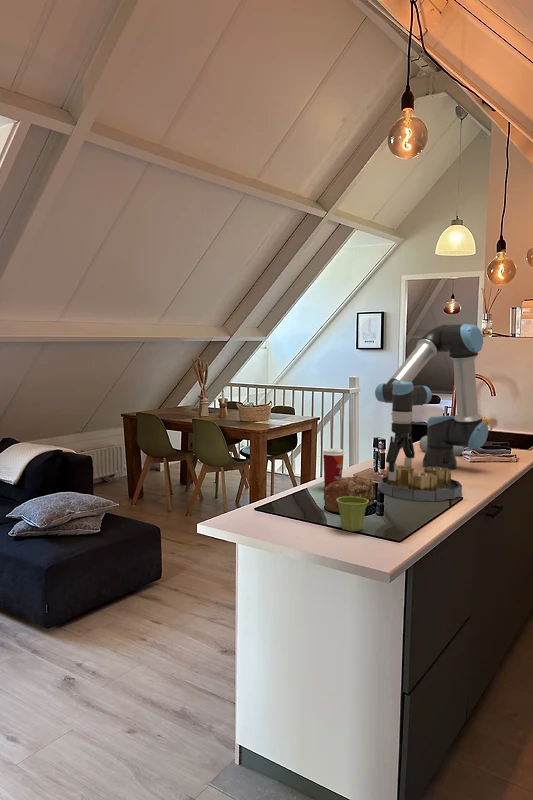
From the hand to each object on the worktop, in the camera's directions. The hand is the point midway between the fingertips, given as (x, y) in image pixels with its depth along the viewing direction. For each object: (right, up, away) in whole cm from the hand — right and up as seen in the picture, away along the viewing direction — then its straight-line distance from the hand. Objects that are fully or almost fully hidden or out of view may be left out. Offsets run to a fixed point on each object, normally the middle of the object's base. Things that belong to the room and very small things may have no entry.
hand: (400, 477), depth 235 cm
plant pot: (-26, -9, -53) cm, 59 cm away
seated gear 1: (+5, -3, -13) cm, 14 cm away
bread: (-23, -7, -28) cm, 37 cm away
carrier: (+6, -5, -4) cm, 9 cm away
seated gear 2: (+14, -3, -2) cm, 14 cm away
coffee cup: (-26, -4, -2) cm, 27 cm away
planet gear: (0, -2, 0) cm, 2 cm away
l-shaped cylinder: (+38, +2, +78) cm, 87 cm away
